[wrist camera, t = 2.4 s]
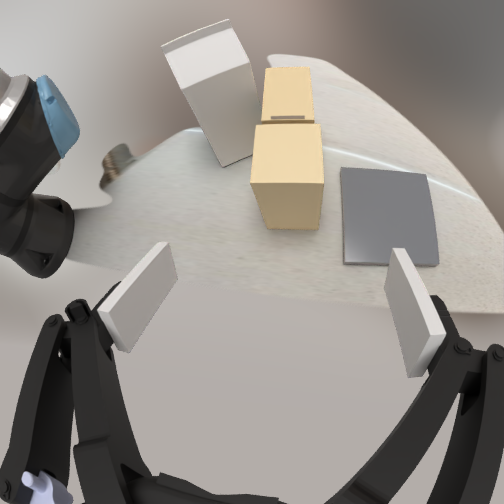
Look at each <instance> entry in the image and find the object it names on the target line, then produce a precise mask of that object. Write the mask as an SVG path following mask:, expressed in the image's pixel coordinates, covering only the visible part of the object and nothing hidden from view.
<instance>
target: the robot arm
mask: <svg viewBox="0 0 504 504" xmlns="http://www.w3.org/2000/svg"><path fill="white" fill-rule="evenodd" d="M79 135H80V129H79V125H78V122H77V120H76V118H75V116H74V114H73V112H72V110H71V109H70V107H69V105H68V104H67V102H66V100H65V99H64V97H63V96H62V94H61V93H60V91H59V89H58V88H57V87H56V85H55V84H54V83H53V81H52V80H51V79H50V78H48V76H46V75H43V76H41V77H39V78H38V79H37V80H36V82H34V81H33V80H32V79H31V78H30V77H29V76H27V75H25V74H24V75H20V76H16V77H9V76H8V75H7V74H6V73H5V72H4V71H3V70H2V69H1V68H0V254H1V255H4V256H7V257H9V258H11V259H12V260H13V261H15V262H16V263H17V264H18V265H19V266H20V267H21V268H23V269H24V270H25V271H26V272H27V273H29V274H30V275H32V276H35V277H38V278H47V277H49V276H51V275H52V274H54V273H55V272H56V271H57V270H58V268H59V267H60V266H61V264H62V262H63V261H64V259H65V257H66V255H67V252H68V250H69V247H70V244H71V240H72V235H73V229H74V216H73V211H72V208H71V207H70V205H69V204H68V203H67V202H65V201H64V200H62V199H61V198H59V197H55V196H48V195H41V194H33V193H32V192H33V191H34V190H35V188H36V187H37V185H39V183H40V182H41V181H42V180H43V179H44V177H45V176H46V175H47V174H48V173H49V172H50V170H51V169H52V168H53V167H54V166H55V165H56V164H57V162H58V161H59V160H60V159H61V158H62V159H63V158H64V157H65V154H66V153H67V152H68V150H69V149H70V148H71V147H72V146H73V145H74V144H75V143H76V141H77V140H78V138H79ZM177 280H178V277H177V273H176V269H175V265H174V261H173V257H172V253H171V249H170V245H169V242H158V243H157V244H156V245H155V246H154V247H153V248H152V249H151V250H150V251H149V252H148V253H147V254H146V255H145V256H144V258H143V259H142V260H141V261H140V262H139V263H138V264H137V265H136V266H135V267H134V268H133V269H132V271H131V272H130V273H129V274H128V275H127V276H126V277H125V278H124V279H123V280H122V281H120V282H118V283H117V284H115V285H114V286H113V287H112V288H111V289H110V290H109V291H108V293H106V294H105V296H104V298H102V299H101V300H100V301H99V303H98V304H97V305H96V306H95V307H94V308H93V310H92V311H91V310H90V308H89V306H88V304H87V302H86V300H84V299H77V300H74V301H72V302H71V303H70V304H68V305H67V307H66V308H65V313H66V314H67V316H68V318H69V320H70V321H64V319H63V318H62V316H61V315H60V314H55V315H52V316H50V317H49V318H48V319H47V320H46V321H45V323H44V325H43V327H42V329H41V332H40V335H39V337H38V340H37V342H36V345H35V348H34V351H33V353H32V356H31V359H30V362H29V365H28V368H27V371H26V374H25V378H24V381H23V384H22V388H21V392H20V395H19V399H18V403H17V407H16V412H15V417H14V421H13V426H12V433H11V438H10V444H9V449H8V451H7V453H6V456H5V458H4V461H3V463H2V466H1V468H0V498H1V499H2V500H4V501H5V502H7V503H9V504H72V503H73V497H72V495H71V494H70V493H68V491H67V485H68V479H69V470H70V469H69V468H70V446H71V431H72V421H73V412H74V409H75V417H76V425H77V432H78V438H79V443H78V444H77V445H74V447H73V454H74V459H75V464H76V469H77V473H78V477H79V481H80V485H81V489H82V492H83V496H84V499H85V503H82V504H287V503H284V502H281V501H278V499H279V498H276V497H266V496H258V495H250V494H238V495H215V494H211V493H209V492H207V491H205V490H203V489H201V488H199V487H197V486H196V485H194V484H192V483H190V482H188V481H186V480H183V479H179V478H176V477H173V476H170V475H167V474H164V473H160V474H159V476H152V474H151V472H150V471H149V469H148V468H147V466H146V465H145V464H144V462H143V460H142V458H141V456H140V453H139V450H138V447H137V444H136V441H135V438H134V435H133V432H132V429H131V425H130V422H129V419H128V415H127V411H126V408H125V404H124V400H123V396H122V392H121V388H120V384H119V379H118V375H117V371H116V365H115V360H114V354H113V351H112V349H111V346H112V344H113V343H115V345H116V347H117V348H118V350H120V351H123V352H127V353H130V352H131V350H132V349H133V347H134V345H135V343H136V342H137V341H138V339H139V337H140V336H141V334H142V333H143V331H144V330H145V328H146V326H147V325H148V323H149V322H150V320H151V319H152V317H153V316H154V314H155V313H156V311H157V310H158V308H159V307H160V305H161V304H162V302H163V300H164V299H165V298H166V296H167V295H168V293H169V292H170V290H171V289H172V287H173V286H174V284H175V283H176V281H177ZM384 290H385V293H386V296H387V299H388V302H389V306H390V309H391V312H392V316H393V319H394V323H395V326H396V330H397V334H398V338H399V342H400V346H401V350H402V354H403V358H404V362H405V367H406V371H407V376H408V378H411V377H421V376H423V375H424V373H425V371H426V370H427V369H428V372H429V377H428V378H427V380H426V381H425V383H424V384H423V386H422V388H421V390H420V392H419V393H418V395H417V397H416V398H415V399H414V401H413V403H412V404H411V406H410V407H409V409H408V410H407V412H406V413H405V415H404V416H403V417H402V419H401V420H400V422H399V423H398V424H397V426H396V427H395V428H394V430H393V431H392V433H391V434H390V435H389V436H388V437H387V439H386V440H385V441H384V443H383V444H382V445H381V446H380V447H379V449H378V450H377V451H376V452H375V453H374V455H373V456H372V457H371V458H370V459H369V461H368V462H367V463H366V464H365V465H364V466H363V467H362V468H361V469H360V470H359V471H358V472H357V474H355V475H354V476H353V478H352V479H351V480H350V481H349V482H348V483H347V484H346V485H345V486H343V487H342V489H340V490H339V491H338V492H337V493H336V494H335V495H334V496H333V497H331V498H330V499H329V500H328V501H327V502H326V503H324V504H388V503H389V501H390V500H391V499H392V498H393V496H394V495H395V494H396V493H397V492H398V490H399V489H400V488H401V486H402V485H403V484H404V483H405V481H406V480H407V479H408V477H409V476H410V475H411V473H412V472H413V471H414V469H415V468H416V466H417V465H418V463H419V462H420V460H421V459H422V457H423V456H424V454H425V453H426V451H427V450H428V448H429V447H430V445H431V443H432V442H433V440H434V438H435V437H436V435H437V433H438V431H439V430H440V428H441V426H442V424H443V422H444V420H445V418H446V417H447V415H448V412H449V410H450V409H451V407H452V405H453V403H454V400H455V398H456V396H457V394H458V393H461V394H460V400H459V405H458V410H457V414H456V419H455V423H454V427H453V431H452V435H451V439H450V442H449V446H448V449H447V452H446V455H445V458H444V461H443V464H442V467H441V470H440V473H439V475H438V478H437V480H436V483H435V485H434V488H433V490H432V493H431V495H430V497H429V499H428V502H427V504H489V503H490V500H491V496H492V493H493V490H494V487H495V483H496V480H497V476H498V472H499V468H500V463H501V458H502V454H503V448H504V348H503V347H502V346H501V345H499V344H492V345H491V346H490V347H489V348H488V349H487V351H480V350H475V349H473V346H472V345H471V343H470V342H469V341H468V340H466V339H464V338H462V337H460V336H459V333H458V331H457V329H456V327H455V325H454V322H453V320H452V318H451V317H450V314H449V312H448V311H447V308H446V306H445V304H444V302H443V301H442V300H441V299H440V298H439V297H438V296H437V295H429V294H428V292H427V290H426V288H425V286H424V284H423V282H422V280H421V278H420V276H419V274H418V272H417V270H416V268H415V266H414V264H413V263H412V261H411V259H410V257H409V255H408V254H407V252H406V250H405V248H392V253H391V258H390V263H389V268H388V272H387V277H386V281H385V285H384ZM59 352H60V353H61V355H60V357H59V355H58V353H59Z"/></svg>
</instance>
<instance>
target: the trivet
mask: <svg viewBox="0 0 504 504" xmlns="http://www.w3.org/2000/svg"><path fill="white" fill-rule="evenodd" d="M340 177H341V192H342V210H343V241H344V264H357V265H389V263H390V258H391V253H392V248H405V250H406V252H407V254H408V255H409V257H410V259H411V261H412V263H413V264H414V266H437V265H439V252H438V242H437V234H436V226H435V219H434V213H433V207H432V201H431V196H430V190H429V186H428V181H427V176H426V174H418V173H409V172H400V171H389V170H377V169H363V168H345V167H341V170H340Z"/></svg>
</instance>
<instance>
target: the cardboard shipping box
mask: <svg viewBox="0 0 504 504" xmlns="http://www.w3.org/2000/svg"><path fill="white" fill-rule="evenodd" d="M262 107H263V108H262V118H261V122H262V125H264V124H314V108H313V97H312V86H311V77H310V68H309V67H279V68H266V73H265V83H264V95H263V106H262Z"/></svg>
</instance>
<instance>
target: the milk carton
mask: <svg viewBox="0 0 504 504" xmlns="http://www.w3.org/2000/svg"><path fill="white" fill-rule="evenodd" d="M161 48H162V51H163V52H164V54H165V56H166V59H167V61H168V63H169V65H170V67H171V69H172V71H173V73H174V76H175V77H176V80H177V82H178V84H179V86H180V88H181V90H182V92H183V94H184V95H185V98H186V99H187V101H188V103H189V105H190V107H191V109H192V111H193V113H194V114H195V116H196V118H197V120H198V122H199V124H200V126H201V128H202V130H203V131H204V133H205V135H206V137H207V139H208V141H209V143H210V145H211V147H212V149H213V150H214V152H215V154H216V156H217V158H218V160H219V162H220V164H221V166H222V167H225V166H227V165H229V164H232V163H234V162H236V161H239V160H241V159H243V158H245V157H248V156H250V155H253V149H254V139H255V129H256V125H262V122H261V118H262V110H261V105H260V101H259V97H258V93H257V89H256V85H255V81H254V77H253V73H252V69H251V65H250V61H249V59H248V57H247V55H246V53H245V51H244V49H243V47H242V45H241V43H240V42H239V40H238V38H237V36H236V34H235V32H234V31H233V29H232V27H231V23H230V20H229V19H227V20H224V21H221V22H218V23H215V24H212V25H210V26H207V27H204V28H201V29H199V30H196V31H194V32H191V33H189V34H186V35H184V36H182V37H179V38H177V39H175V40H173V41H170V42H169V43H166V44H164V45H162V46H161Z"/></svg>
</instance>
